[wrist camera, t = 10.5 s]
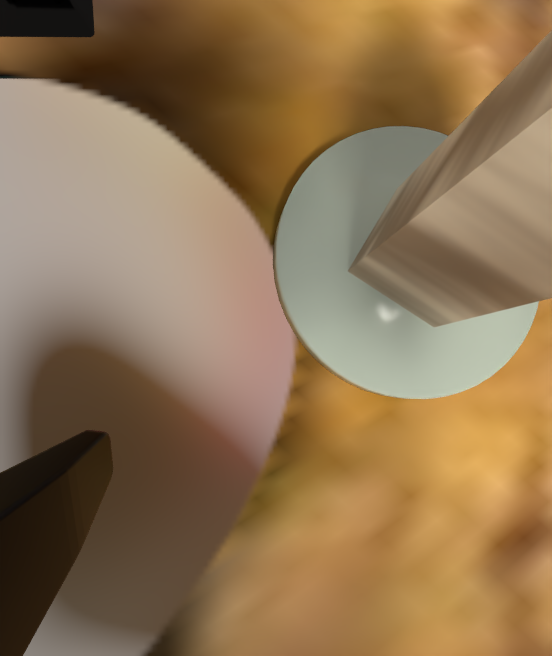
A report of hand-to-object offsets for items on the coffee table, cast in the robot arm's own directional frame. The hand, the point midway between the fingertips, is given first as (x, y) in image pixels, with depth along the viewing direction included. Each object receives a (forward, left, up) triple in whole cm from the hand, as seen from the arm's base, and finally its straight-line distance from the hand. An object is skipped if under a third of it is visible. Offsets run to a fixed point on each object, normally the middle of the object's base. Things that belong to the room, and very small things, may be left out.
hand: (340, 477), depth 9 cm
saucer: (+9, -2, -11) cm, 14 cm away
